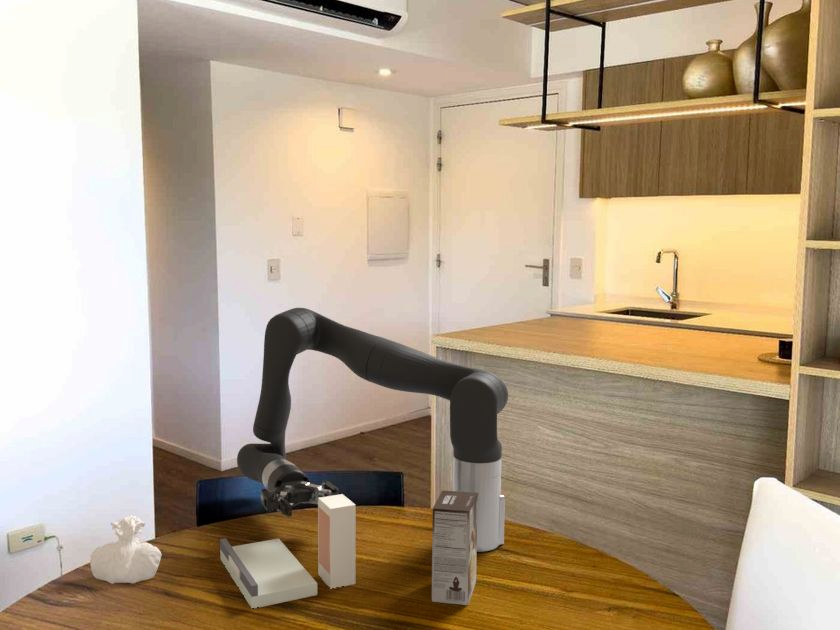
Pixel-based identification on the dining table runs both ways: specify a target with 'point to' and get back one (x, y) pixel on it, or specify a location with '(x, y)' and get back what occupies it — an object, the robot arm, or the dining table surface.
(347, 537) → the carton
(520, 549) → the dining table surface
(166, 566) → the dining table surface
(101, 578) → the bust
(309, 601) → the dining table surface
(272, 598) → the shelf board
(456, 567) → the coffee box
